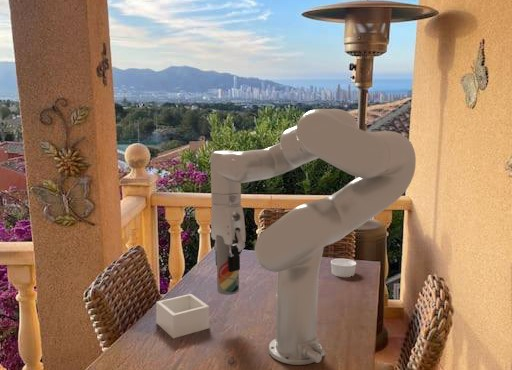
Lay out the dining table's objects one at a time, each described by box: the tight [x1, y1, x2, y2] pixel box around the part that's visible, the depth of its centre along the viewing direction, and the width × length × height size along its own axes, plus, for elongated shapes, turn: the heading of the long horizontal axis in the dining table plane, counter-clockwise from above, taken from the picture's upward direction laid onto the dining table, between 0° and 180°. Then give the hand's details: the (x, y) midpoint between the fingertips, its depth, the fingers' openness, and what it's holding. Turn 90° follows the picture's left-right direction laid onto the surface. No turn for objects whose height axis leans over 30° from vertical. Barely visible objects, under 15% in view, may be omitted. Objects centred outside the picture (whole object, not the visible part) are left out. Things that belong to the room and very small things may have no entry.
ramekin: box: [330, 258, 357, 278], centre depth 167 cm, size 9×9×4 cm
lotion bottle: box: [215, 235, 240, 296], centre depth 124 cm, size 6×6×20 cm
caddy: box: [155, 293, 210, 339], centre depth 125 cm, size 10×10×6 cm
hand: (227, 267), depth 124 cm, fingers closed on lotion bottle, 5 cm apart
